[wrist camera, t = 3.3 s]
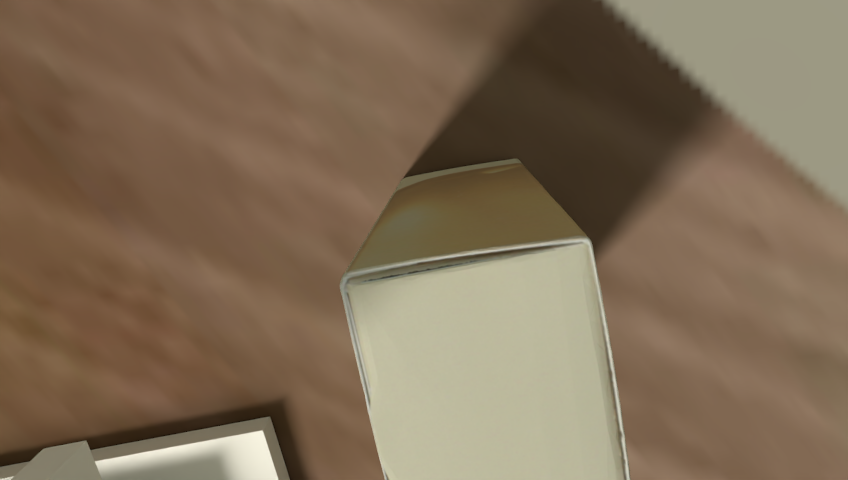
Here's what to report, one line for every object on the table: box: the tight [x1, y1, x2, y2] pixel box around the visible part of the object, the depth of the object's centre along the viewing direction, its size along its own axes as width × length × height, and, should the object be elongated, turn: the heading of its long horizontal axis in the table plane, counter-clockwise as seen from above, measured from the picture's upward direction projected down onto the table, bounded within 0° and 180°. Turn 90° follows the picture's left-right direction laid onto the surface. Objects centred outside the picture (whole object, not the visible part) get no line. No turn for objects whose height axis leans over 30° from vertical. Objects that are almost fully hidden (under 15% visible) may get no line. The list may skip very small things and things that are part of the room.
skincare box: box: [340, 159, 630, 480], centre depth 17 cm, size 6×4×12 cm
